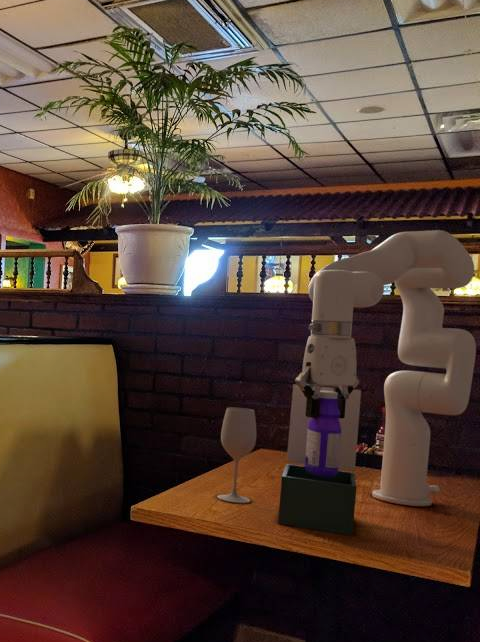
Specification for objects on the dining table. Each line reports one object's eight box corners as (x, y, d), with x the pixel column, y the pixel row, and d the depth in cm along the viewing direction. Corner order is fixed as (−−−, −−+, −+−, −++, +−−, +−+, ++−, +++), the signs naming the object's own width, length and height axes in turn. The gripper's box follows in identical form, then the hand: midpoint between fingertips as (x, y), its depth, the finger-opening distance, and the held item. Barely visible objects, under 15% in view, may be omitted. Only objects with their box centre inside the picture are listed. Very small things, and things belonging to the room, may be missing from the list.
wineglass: (234, 504, 168) (241, 411, 167) (209, 496, 174) (216, 407, 173) (258, 502, 171) (265, 411, 170) (232, 494, 178) (239, 406, 177)
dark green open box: (352, 535, 147) (356, 486, 147) (278, 523, 153) (281, 476, 153) (350, 517, 162) (354, 472, 162) (283, 507, 168) (286, 463, 168)
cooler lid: (361, 390, 163) (360, 390, 164) (293, 384, 169) (293, 384, 170) (354, 470, 161) (354, 470, 162) (286, 461, 167) (286, 461, 168)
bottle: (342, 479, 152) (349, 394, 151) (314, 477, 152) (320, 392, 151) (326, 471, 159) (332, 390, 158) (299, 470, 159) (305, 388, 158)
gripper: (309, 329, 148) (303, 420, 149) (379, 332, 153) (372, 420, 154) (283, 328, 155) (277, 414, 156) (350, 330, 160) (344, 414, 161)
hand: (324, 416), depth 155 cm, fingers closed on bottle, 5 cm apart
